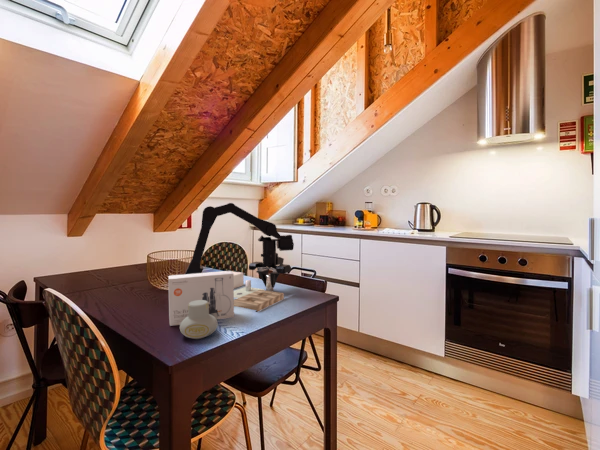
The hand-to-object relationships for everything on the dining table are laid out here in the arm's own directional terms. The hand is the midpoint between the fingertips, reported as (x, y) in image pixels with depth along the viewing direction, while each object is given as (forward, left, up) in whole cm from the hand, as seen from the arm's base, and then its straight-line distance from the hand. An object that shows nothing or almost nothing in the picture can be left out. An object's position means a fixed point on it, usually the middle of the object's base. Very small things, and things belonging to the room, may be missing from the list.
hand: (269, 286), depth 140 cm
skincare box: (-36, +3, -4) cm, 36 cm away
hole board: (-12, -3, -3) cm, 13 cm away
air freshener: (-46, -6, -4) cm, 47 cm away
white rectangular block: (0, +23, -3) cm, 23 cm away
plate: (-4, +11, -3) cm, 12 cm away
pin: (0, 0, -2) cm, 2 cm away
